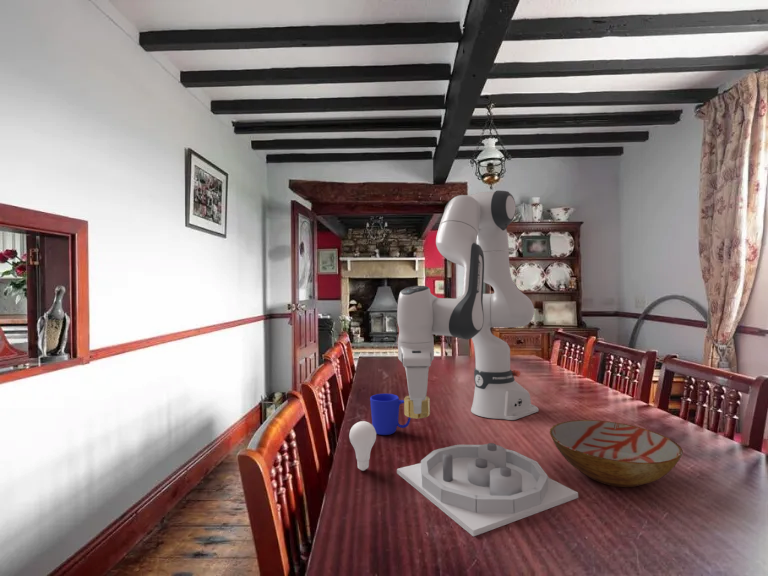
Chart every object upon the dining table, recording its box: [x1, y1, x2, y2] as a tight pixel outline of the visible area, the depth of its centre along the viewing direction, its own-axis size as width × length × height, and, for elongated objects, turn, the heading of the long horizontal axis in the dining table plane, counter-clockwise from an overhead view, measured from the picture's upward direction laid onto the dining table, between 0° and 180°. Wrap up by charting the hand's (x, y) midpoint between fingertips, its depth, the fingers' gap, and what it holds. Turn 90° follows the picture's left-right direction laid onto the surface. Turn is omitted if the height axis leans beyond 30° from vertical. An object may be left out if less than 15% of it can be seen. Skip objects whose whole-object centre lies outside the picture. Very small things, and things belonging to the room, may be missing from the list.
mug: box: [369, 393, 412, 436], centre depth 116 cm, size 8×12×10 cm
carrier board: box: [396, 442, 579, 537], centre depth 85 cm, size 26×26×6 cm
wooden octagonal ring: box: [403, 395, 431, 420], centre depth 100 cm, size 6×6×4 cm
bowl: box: [549, 419, 684, 488], centre depth 89 cm, size 25×25×8 cm
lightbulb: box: [348, 420, 377, 472], centre depth 92 cm, size 6×6×11 cm
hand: (417, 407), depth 100 cm, fingers closed on wooden octagonal ring, 6 cm apart
